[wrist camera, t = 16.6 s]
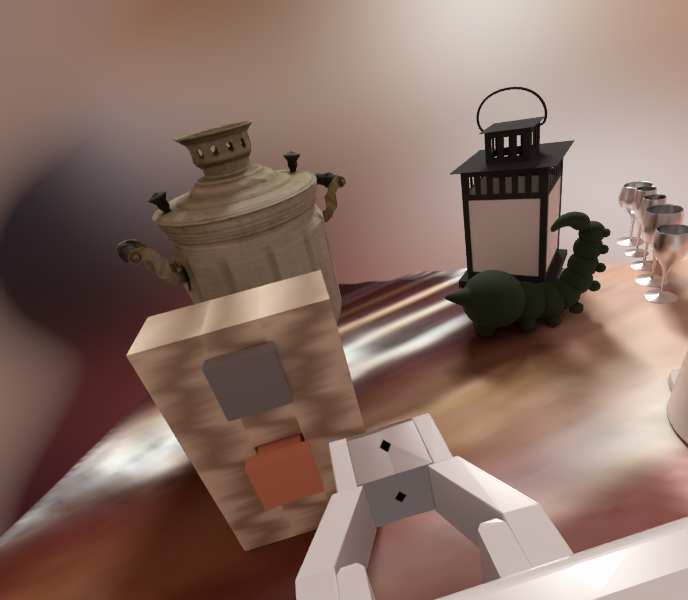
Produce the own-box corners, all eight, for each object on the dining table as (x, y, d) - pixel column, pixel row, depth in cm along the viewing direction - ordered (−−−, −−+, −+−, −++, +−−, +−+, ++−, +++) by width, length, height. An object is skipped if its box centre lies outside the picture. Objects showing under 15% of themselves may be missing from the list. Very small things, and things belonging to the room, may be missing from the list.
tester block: (373, 463, 48) (320, 269, 36) (385, 507, 43) (329, 298, 30) (247, 501, 48) (147, 317, 35) (245, 551, 42) (126, 355, 30)
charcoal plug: (288, 343, 41) (272, 297, 38) (293, 402, 33) (273, 349, 30) (236, 358, 40) (216, 312, 38) (228, 421, 32) (202, 369, 30)
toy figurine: (569, 302, 71) (436, 326, 70) (586, 199, 62) (434, 224, 61) (606, 329, 63) (456, 357, 61) (632, 214, 54) (457, 243, 53)
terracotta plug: (313, 420, 44) (300, 383, 42) (324, 491, 36) (308, 450, 33) (265, 434, 44) (249, 398, 41) (265, 509, 36) (245, 470, 33)
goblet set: (687, 304, 61) (706, 225, 55) (642, 304, 64) (655, 228, 57) (643, 235, 83) (653, 172, 77) (611, 237, 86) (618, 176, 79)
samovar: (344, 316, 81) (291, 105, 62) (417, 384, 59) (368, 90, 40) (203, 378, 72) (91, 156, 54) (226, 484, 50) (50, 173, 32)
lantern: (567, 254, 83) (578, 67, 67) (551, 294, 72) (560, 81, 55) (484, 251, 93) (476, 87, 76) (459, 285, 81) (443, 102, 65)
